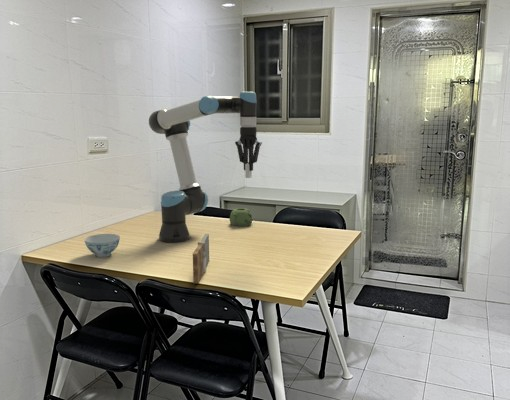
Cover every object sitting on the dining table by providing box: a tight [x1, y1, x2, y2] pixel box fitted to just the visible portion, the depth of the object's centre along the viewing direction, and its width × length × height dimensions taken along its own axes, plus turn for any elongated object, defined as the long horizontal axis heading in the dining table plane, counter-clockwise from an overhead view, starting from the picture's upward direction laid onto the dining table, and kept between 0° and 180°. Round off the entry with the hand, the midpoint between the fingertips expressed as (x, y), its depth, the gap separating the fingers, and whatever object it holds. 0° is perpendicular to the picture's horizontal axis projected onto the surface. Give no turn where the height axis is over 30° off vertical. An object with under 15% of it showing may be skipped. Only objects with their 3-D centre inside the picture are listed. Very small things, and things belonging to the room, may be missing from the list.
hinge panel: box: [200, 233, 210, 274], centre depth 192 cm, size 15×3×12 cm, turn 177°
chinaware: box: [84, 233, 121, 258], centre depth 209 cm, size 15×15×8 cm
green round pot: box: [229, 207, 253, 227], centre depth 263 cm, size 16×13×9 cm
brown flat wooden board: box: [192, 241, 206, 285], centre depth 180 cm, size 15×3×12 cm, turn 176°
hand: (248, 177), depth 219 cm, fingers closed
